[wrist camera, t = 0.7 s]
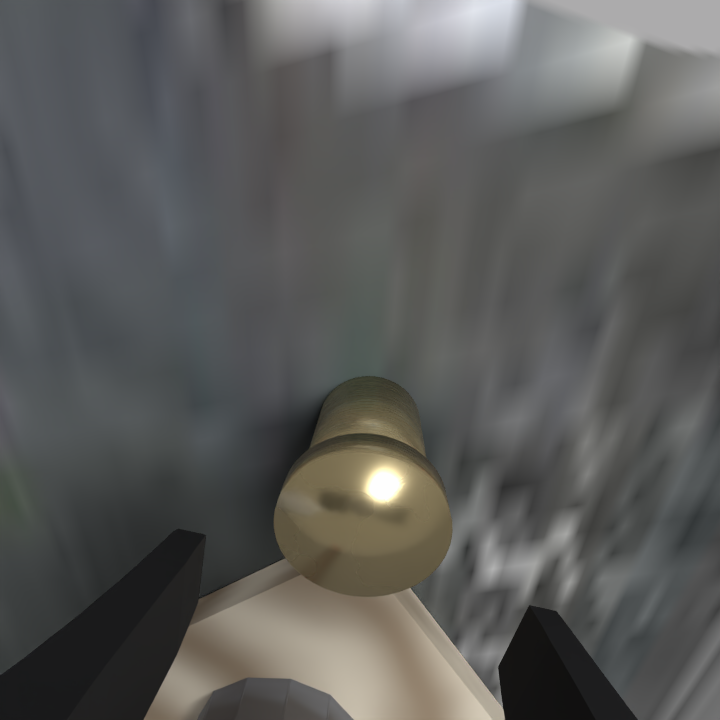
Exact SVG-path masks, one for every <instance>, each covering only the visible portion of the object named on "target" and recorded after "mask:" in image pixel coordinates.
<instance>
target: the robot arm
mask: <svg viewBox="0 0 720 720" xmlns="http://www.w3.org/2000/svg"><path fill="white" fill-rule="evenodd" d="M205 539H206V535H204V534H199V533H195V532H190V531H186V530H181V529H177V530H175V531H173V532H172V533H171V534H170V535H169V536H168V537H167V538H166V539H165V540H164V541H163V542H162V543H161V544H160V545H158V546H157V547H156V548H155V549H154V550H153V551H152V552H151V553H150V554H149V555H148V556H147V557H146V558H144V559H143V560H142V561H141V562H140V563H139V564H138V565H137V566H136V567H134V568H133V569H132V570H131V571H130V572H129V573H128V574H127V575H125V576H124V577H123V578H122V579H121V580H120V581H119V582H118V583H116V584H115V585H114V586H113V587H112V588H110V589H109V590H108V591H107V592H106V593H105V594H103V595H102V596H101V597H100V598H99V599H97V600H96V601H95V602H94V603H93V604H92V605H90V606H89V607H88V608H87V609H86V610H84V611H83V612H82V613H81V614H80V615H78V616H77V617H76V618H75V619H73V620H72V621H71V622H70V623H68V624H67V625H66V626H64V627H63V628H62V629H61V630H59V631H58V632H57V633H56V634H54V635H53V636H52V637H50V638H49V639H48V640H47V641H45V642H44V643H43V644H41V645H40V646H39V647H38V648H36V649H35V650H34V651H32V652H31V653H30V654H29V655H27V656H26V657H25V658H23V659H22V660H21V661H19V662H18V663H17V664H15V665H14V666H13V667H11V668H10V669H9V670H7V671H6V672H5V673H3V674H2V675H0V720H144V718H145V716H146V714H147V712H148V710H149V708H150V706H151V704H152V703H153V701H154V699H155V697H156V695H157V693H158V691H159V689H160V687H161V685H162V683H163V681H164V679H165V677H166V675H167V673H168V671H169V670H170V668H171V666H172V664H173V662H174V660H175V658H176V656H177V654H178V651H179V649H180V646H181V644H182V641H183V639H184V637H185V634H186V632H187V629H188V627H189V624H190V622H191V619H192V617H193V614H194V612H195V609H196V607H197V604H198V600H199V591H200V582H201V574H202V565H203V556H204V548H205ZM498 669H499V678H500V686H501V695H502V702H503V709H504V716H505V720H638V719H637V718H636V717H635V715H634V714H633V713H632V712H631V710H630V709H629V708H628V706H627V705H626V704H625V702H624V701H623V700H622V698H621V697H620V696H619V694H618V693H617V692H616V690H615V689H614V688H613V686H612V685H611V684H610V682H609V681H608V680H607V678H606V677H605V676H604V674H603V673H602V672H601V670H600V669H599V667H598V666H597V665H596V663H595V662H594V661H593V659H592V658H591V657H590V655H589V654H588V653H587V651H586V650H585V649H584V647H583V646H582V644H581V643H580V642H579V640H578V639H577V638H576V636H575V635H574V634H573V632H572V631H571V630H570V628H569V627H568V626H567V624H566V623H565V622H564V620H563V619H562V618H561V617H560V615H559V614H558V613H557V612H556V611H553V610H549V609H544V608H540V607H535V606H530V605H529V607H528V609H527V611H526V613H525V615H524V617H523V619H522V621H521V623H520V625H519V627H518V629H517V631H516V633H515V635H514V637H513V639H512V641H511V643H510V645H509V647H508V649H507V651H506V653H505V655H504V657H503V658H502V660H501V662H500V664H499V666H498Z"/></svg>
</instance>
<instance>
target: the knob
mask: <svg viewBox="0 0 720 720" xmlns="http://www.w3.org/2000/svg"><path fill="white" fill-rule="evenodd" d="M274 532H275V536H276V540H277V542H278V545H279V548H280V549H281V551H282V553H283V555H284V557H285V558H286V559H287V560H288V562H289V563H290V564H291V565H292V566H293V567H294V568H295V569H296V571H298V572H299V573H300V574H301V575H302V576H304V577H305V578H306V579H308V580H310V581H311V582H313V583H314V584H316V585H318V586H320V587H322V588H325V589H327V590H330V591H333V592H336V593H340V594H344V595H350V596H359V597H377V596H384V595H390V594H394V593H398V592H401V591H403V590H406V589H409V588H411V587H413V586H415V585H417V584H418V583H420V582H421V581H423V580H424V579H426V578H427V577H428V576H429V575H431V574H432V573H433V572H434V571H435V570H436V569H437V567H438V566H439V565H440V564H441V562H442V561H443V559H444V558H445V556H446V554H447V551H448V549H449V546H450V543H451V538H452V519H451V515H450V510H449V505H448V500H447V496H446V491H445V487H444V484H443V482H442V479H441V477H440V475H439V474H438V472H437V470H436V469H435V467H434V466H433V465H432V464H431V462H430V461H429V460H428V459H427V458H426V454H425V448H424V442H423V435H422V429H421V423H420V417H419V412H418V409H417V406H416V404H415V402H414V400H413V398H412V397H411V396H410V395H409V393H408V392H407V391H406V390H405V389H403V388H402V387H401V386H399V385H398V384H396V383H394V382H392V381H390V380H387V379H384V378H380V377H373V376H365V377H358V378H353V379H351V380H348V381H346V382H344V383H342V384H340V385H339V386H337V387H336V388H335V389H334V390H333V391H332V392H331V393H330V394H329V395H328V397H327V398H326V400H325V401H324V404H323V406H322V409H321V412H320V416H319V419H318V422H317V425H316V429H315V432H314V435H313V438H312V442H311V445H310V448H309V449H308V450H307V451H306V452H305V453H303V454H302V455H301V456H300V457H299V458H298V459H297V461H296V462H295V463H294V464H293V466H292V467H291V469H290V470H289V472H288V474H287V477H286V479H285V482H284V484H283V487H282V490H281V493H280V495H279V498H278V501H277V504H276V508H275V512H274Z"/></svg>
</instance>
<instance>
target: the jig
mask: <svg viewBox="0 0 720 720" xmlns="http://www.w3.org/2000/svg"><path fill="white" fill-rule="evenodd" d="M144 720H505V716H504V710H503V708H502V707H501V706H500V704H499V703H498V702H497V700H496V699H495V698H494V697H493V695H492V694H491V693H490V691H489V690H488V689H487V687H486V686H485V685H484V684H483V682H482V681H481V680H480V678H479V677H478V676H477V674H476V673H475V672H474V671H473V669H472V668H471V667H470V665H469V664H468V663H467V661H466V660H465V659H464V657H463V656H462V655H461V654H460V652H459V651H458V650H457V648H456V647H455V646H454V644H453V643H452V642H451V641H450V639H449V638H448V637H447V635H446V634H445V633H444V631H443V630H442V629H441V628H440V626H439V625H438V624H437V622H436V621H435V620H434V618H433V617H432V616H431V614H430V613H429V612H428V611H427V609H426V608H425V607H424V605H423V604H422V603H421V601H420V600H419V599H418V598H417V596H416V595H415V594H414V592H413V591H412V590H411V588H409V589H406V590H403V591H401V592H398V593H394V594H390V595H384V596H377V597H359V596H350V595H344V594H340V593H336V592H333V591H330V590H327V589H325V588H322V587H320V586H318V585H316V584H314V583H313V582H311V581H310V580H308V579H306V578H305V577H304V576H302V575H301V574H300V573H299V572H298V571H296V569H295V568H294V567H293V566H292V565H291V564H290V563H289V562H288V560H287V559H286V558H285V559H283V560H280V561H278V562H276V563H274V564H272V565H270V566H268V567H266V568H264V569H261V570H259V571H257V572H255V573H253V574H251V575H249V576H247V577H245V578H243V579H240V580H238V581H236V582H234V583H232V584H230V585H228V586H226V587H224V588H221V589H219V590H217V591H215V592H213V593H211V594H209V595H207V596H205V597H202V598H200V599H199V600H198V604H197V607H196V609H195V612H194V614H193V617H192V619H191V622H190V624H189V627H188V629H187V632H186V634H185V637H184V639H183V641H182V644H181V646H180V649H179V651H178V654H177V656H176V658H175V660H174V662H173V664H172V666H171V668H170V670H169V671H168V673H167V675H166V677H165V679H164V681H163V683H162V685H161V687H160V689H159V691H158V693H157V695H156V697H155V699H154V701H153V703H152V704H151V706H150V708H149V710H148V712H147V714H146V716H145V718H144Z"/></svg>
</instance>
